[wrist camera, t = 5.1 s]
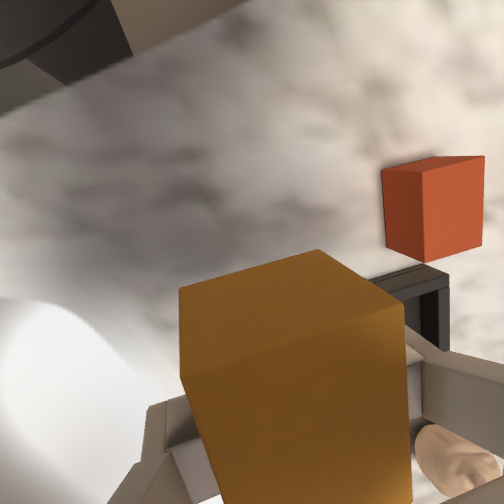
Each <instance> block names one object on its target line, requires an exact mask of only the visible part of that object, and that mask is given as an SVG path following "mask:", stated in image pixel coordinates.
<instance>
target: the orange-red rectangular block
mask: <svg viewBox="0 0 504 504" xmlns="http://www.w3.org/2000/svg"><path fill="white" fill-rule="evenodd" d="M484 167H485V156H444V157H432V158H428V159H424V160H420V161H416V162H412V163H408V164H404V165H400V166H396V167H392V168H388V169H384V170H382V184H383V198H384V212H385V226H386V240H387V248H389V249H391V250H394V251H396V252H399V253H401V254H404V255H406V256H408V257H411V258H413V259H416V260H418V261H421V262H423V263H427V262H431V261H434V260H437V259H440V258H444V257H447V256H450V255H453V254H457V253H460V252H463V251H466V250H470V249H473V248H476V247H480V246H482V229H483V198H484Z"/></svg>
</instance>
